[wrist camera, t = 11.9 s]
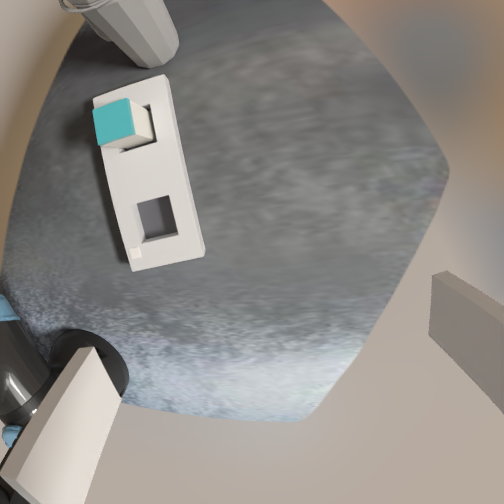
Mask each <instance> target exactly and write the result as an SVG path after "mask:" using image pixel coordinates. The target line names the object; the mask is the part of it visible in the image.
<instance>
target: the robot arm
mask: <svg viewBox="0 0 504 504" xmlns="http://www.w3.org/2000/svg"><path fill="white" fill-rule="evenodd" d="M20 320H21V319H20V317H19V316H17V315H16V313H15V312H14V310H13V309H12V307H11V305H10V304H9V302H8V300H7V299H6V298H5V297H4V296H3V295H2V294H0V420H1V421H2V422H3V423H4V424H5V427H4V428H3V432H2V438H3V440H4V441H5V444H6V445H7V447H8V448H9V450H8V452H7V453H6V455H5V457H4V459H3V460H2V462H1V464H0V504H84V502H85V499H86V496H87V493H88V490H89V487H90V484H91V481H92V478H93V475H94V472H95V469H96V466H97V464H98V461H99V458H100V455H101V452H102V450H103V447H104V444H105V441H106V439H107V436H108V433H109V431H110V428H111V425H112V423H113V420H114V418H115V415H116V413H117V410H118V407H119V405H120V402H121V400H122V399H121V397H122V396H123V394H124V393H125V390H126V388H127V385H128V382H129V373H128V369H127V366H126V363H125V361H124V360H123V358H122V357H121V355H120V354H119V353H118V351H117V350H116V349H115V348H114V347H113V346H112V345H111V344H110V343H108V342H107V341H106V340H104V339H103V338H101V337H99V336H97V335H95V334H93V333H90V332H87V331H83V330H71V331H67V332H65V333H63V334H62V335H61V336H60V337H59V338H58V339H57V340H56V341H55V343H54V344H53V346H52V348H51V351H50V358H49V361H48V363H47V362H46V360H45V359H44V358H43V356H42V355H41V353H40V352H39V350H38V349H37V347H36V346H35V344H34V342H33V341H32V339H31V338H30V336H29V334H28V333H27V331H26V329H25V328H24V326H23V324H22V323H21V321H20ZM429 336H430V337H431V338H432V339H433V340H434V341H435V342H436V343H437V344H438V345H439V346H440V347H441V348H442V349H443V350H444V351H445V352H446V353H447V354H448V355H449V356H450V357H451V358H452V359H453V360H454V361H455V362H456V363H457V364H458V365H459V366H460V367H461V368H462V369H463V370H464V371H465V372H466V374H467V375H468V376H469V377H470V378H471V379H472V380H473V381H474V382H475V383H476V384H477V385H478V386H479V387H480V388H481V389H482V391H484V392H485V394H486V395H487V396H488V397H489V398H490V399H491V400H492V401H493V403H494V404H495V405H496V406H497V407H498V408H499V409H500V410H501V411H502V412H503V414H504V306H503V305H502V304H500V303H498V302H497V301H495V300H494V299H492V298H491V297H489V296H488V295H486V294H484V293H483V292H481V291H480V290H478V289H476V288H475V287H473V286H471V285H470V284H468V283H466V282H465V281H463V280H462V279H460V278H458V277H457V276H455V275H453V274H451V273H449V272H448V271H444V272H441V273H438V274H435V275H432V292H431V309H430V322H429Z"/></svg>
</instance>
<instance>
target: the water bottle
mask: <svg viewBox="0 0 504 504" xmlns="http://www.w3.org/2000/svg"><path fill="white" fill-rule="evenodd" d="M68 1H69V2H70V3H71V4H72V5H73V6H74V7H76V8H77V9H70V8H68V7H67V6H66V5H65V4H64V2H63V0H59V3H60V5H61V8H62V9H64V10H66V11H67V12H69V13H81V14H82V15H83V17H84V18H85V19H86V20H87V22H88V23H89V24H90V26H91V27H92V28H93V29H94V31H95V32H96V33H97V35H98V36H100V37H101V38H103V39H104V40H106V41H113V42H114V43H115V44H116V45H117V46H118V47H119V48H120V49H121V50H122V51H123V52H124V53H125V54H126V55H127V56H129V57H130V58H131V59H132V60H133V61H134V62H135V63H136V64H137V65H138V66H140V67H145V68H154V67H157V66H161V65H164V64H165V63H166V62H167V61H169V60H170V59H171V58H172V57H173V56H174V55H175V53H176V51H177V48H178V46H179V40H178V34H177V32H176V29H175V27H174V25H173V23H172V20H171V18H170V16H169V13H168V11H167V9H166V7H165V4H164V2H163V0H68ZM101 30H102V31H103V32H104V33H105V34H104V33H103V32H102V31H101Z"/></svg>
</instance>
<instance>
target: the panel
mask: <svg viewBox="0 0 504 504" xmlns="http://www.w3.org/2000/svg"><path fill="white" fill-rule="evenodd" d="M119 97H121V98H122V99H123V98H128V99H130V100H132V101H133V102H135V103H136V104H138V105H140V106H141V107H143V108H145V109H146V110H148V111H150V112H151V115H152V121H153V126H154V131H155V136H156V141H152V142H149V143H146V144H142V145H139V146H136V147H132V148H129V149H127V148H118V147H110V146H101V145H100V146H101V151H102V156H103V161H104V166H105V171H106V175H107V180H108V184H109V189H110V193H111V197H112V201H113V205H114V209H115V213H116V217H117V221H118V224H119V228H120V232H121V235H122V239H123V242H124V246H125V249H126V253H127V256H128V259H129V262H130V266H131V269H132V272H134V271H138V270H143V269H148V268H152V267H157V266H162V265H166V264H171V263H176V262H180V261H185V260H190V259H194V258H199V257H204V253H205V246H204V242H203V238H202V234H201V230H200V226H199V222H198V217H197V213H196V209H195V205H194V200H193V196H192V192H191V187H190V183H189V178H188V174H187V169H186V165H185V160H184V155H183V151H182V146H181V141H180V136H179V131H178V126H177V121H176V116H175V111H174V106H173V101H172V96H171V90H170V85H169V80H168V79H167V77H166V76H165V75H164V74H163V75H160V76H156V77H153V78H150V79H146V80H143V81H140V82H137V83H134V84H131V85H128V86H125V87H122V88H120V89H117V90H114V91H111V92H109V93H106V94H103V95H101V96H98V97H96V98H93V104H94V109H96V108H99V107H102V106H104V104H103V103H106V102H108V101H111V100H114V99H116V98H119Z"/></svg>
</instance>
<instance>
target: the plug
mask: <svg viewBox="0 0 504 504" xmlns="http://www.w3.org/2000/svg"><path fill="white" fill-rule="evenodd" d="M103 104H104V106H102V107H99V108H96V109H94V110H92V111H93V118H94V124H95V130H96V136H97V142H98V145H101V146H110V147H118V148H127V149H129V148H132V147H136V146H139V145H142V144H146V143H149V142H152V141H156V136H155V131H154V126H153V121H152V115H151V112H150V111H148V110H146V109H145V108H143V107H141V106H140V105H138V104H136V103H135V102H133V101H132V100H130V99H128V98H123V99H122V98H121V97H119V98H116V99H114V100H111V101H108V102H106V103H103Z"/></svg>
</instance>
